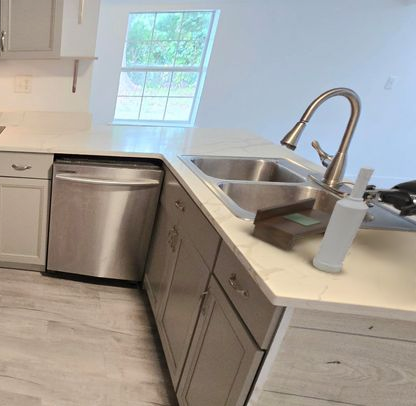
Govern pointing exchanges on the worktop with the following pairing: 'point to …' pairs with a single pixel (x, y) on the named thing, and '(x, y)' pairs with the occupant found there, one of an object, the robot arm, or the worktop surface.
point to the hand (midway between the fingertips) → (378, 205)
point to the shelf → (289, 222)
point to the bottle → (343, 225)
